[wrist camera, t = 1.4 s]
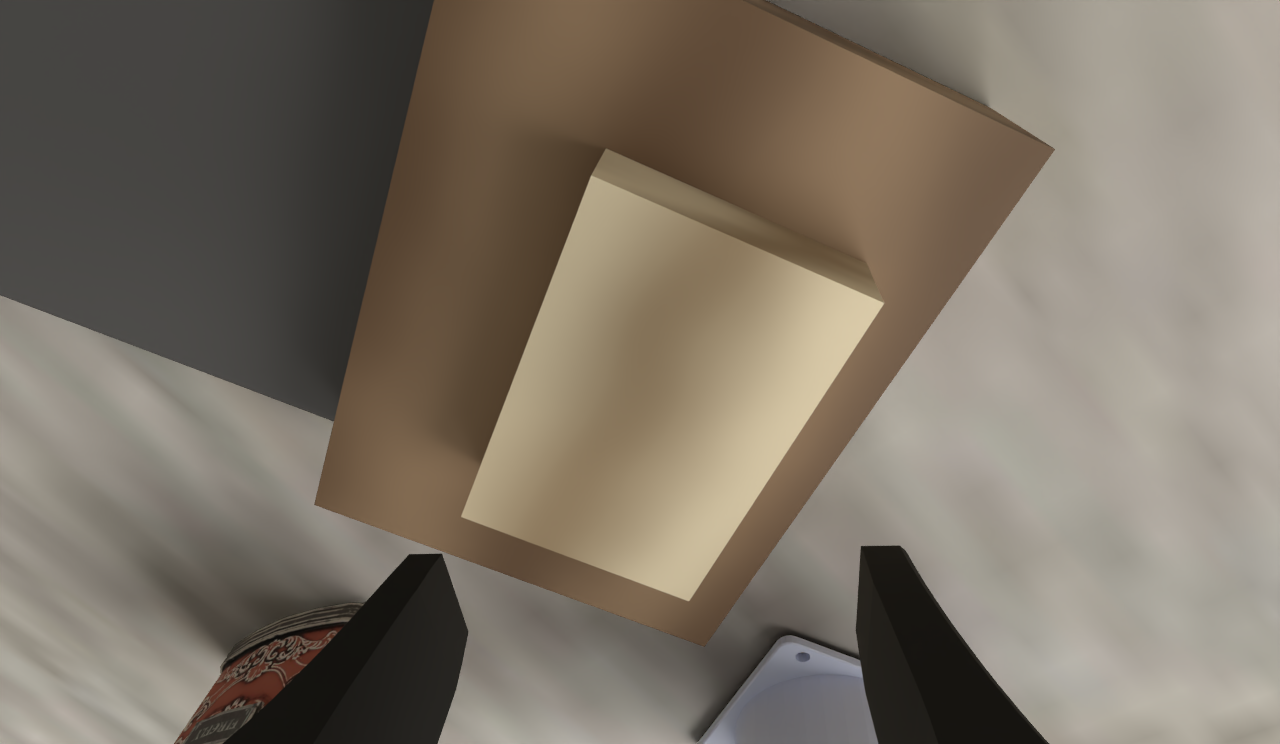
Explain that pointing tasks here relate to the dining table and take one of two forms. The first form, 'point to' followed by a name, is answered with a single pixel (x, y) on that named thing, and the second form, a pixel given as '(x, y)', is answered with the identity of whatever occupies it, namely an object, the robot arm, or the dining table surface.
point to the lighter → (262, 671)
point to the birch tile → (665, 377)
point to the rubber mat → (205, 174)
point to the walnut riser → (548, 203)
